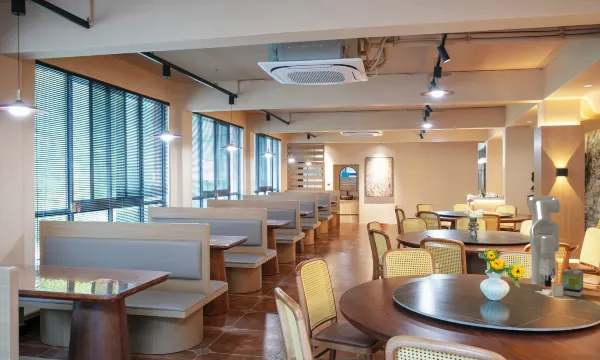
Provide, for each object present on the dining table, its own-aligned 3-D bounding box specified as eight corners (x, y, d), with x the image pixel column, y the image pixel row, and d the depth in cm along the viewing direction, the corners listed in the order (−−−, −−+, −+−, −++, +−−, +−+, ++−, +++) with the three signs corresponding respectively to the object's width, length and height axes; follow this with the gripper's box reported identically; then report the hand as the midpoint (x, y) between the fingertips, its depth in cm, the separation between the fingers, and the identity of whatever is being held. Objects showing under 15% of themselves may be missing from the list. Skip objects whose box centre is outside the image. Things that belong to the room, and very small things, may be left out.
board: (534, 293, 282) (534, 291, 282) (551, 293, 283) (551, 291, 283) (557, 301, 260) (557, 299, 260) (575, 301, 261) (575, 299, 261)
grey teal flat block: (542, 289, 278) (549, 291, 271) (551, 289, 279) (559, 291, 272) (542, 292, 278) (549, 295, 271) (551, 292, 278) (559, 295, 271)
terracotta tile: (551, 296, 269) (551, 284, 269) (561, 296, 269) (561, 284, 270) (553, 296, 267) (553, 284, 267) (563, 296, 267) (563, 284, 268)
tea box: (580, 298, 268) (580, 273, 269) (561, 296, 274) (561, 271, 275) (583, 294, 280) (583, 270, 281) (564, 292, 286) (564, 268, 287)
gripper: (534, 254, 285) (534, 284, 284) (549, 258, 270) (549, 289, 270) (546, 254, 285) (546, 284, 285) (561, 258, 271) (561, 289, 270)
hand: (547, 286), depth 277 cm, fingers closed
